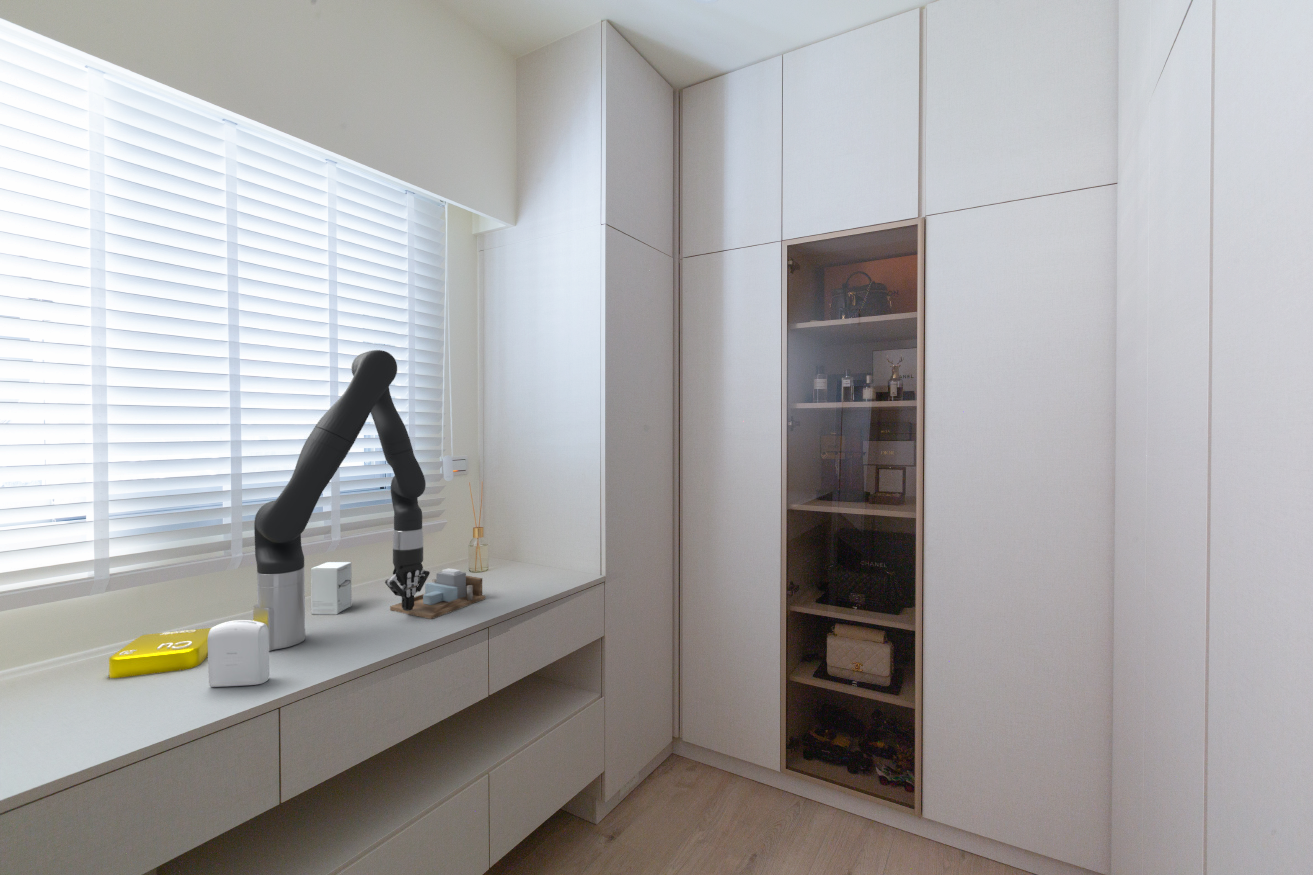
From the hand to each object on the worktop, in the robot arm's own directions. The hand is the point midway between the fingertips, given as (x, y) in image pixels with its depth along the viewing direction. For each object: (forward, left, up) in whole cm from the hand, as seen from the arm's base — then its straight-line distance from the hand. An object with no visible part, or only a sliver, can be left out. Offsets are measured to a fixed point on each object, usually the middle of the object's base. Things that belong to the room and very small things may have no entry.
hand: (408, 609), depth 152 cm
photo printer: (-43, -4, -2) cm, 43 cm away
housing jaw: (+9, 0, 0) cm, 9 cm away
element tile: (-44, +22, -2) cm, 49 cm away
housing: (+11, 0, -1) cm, 11 cm away
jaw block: (+15, 0, 0) cm, 15 cm away
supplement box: (-7, +22, -2) cm, 23 cm away
